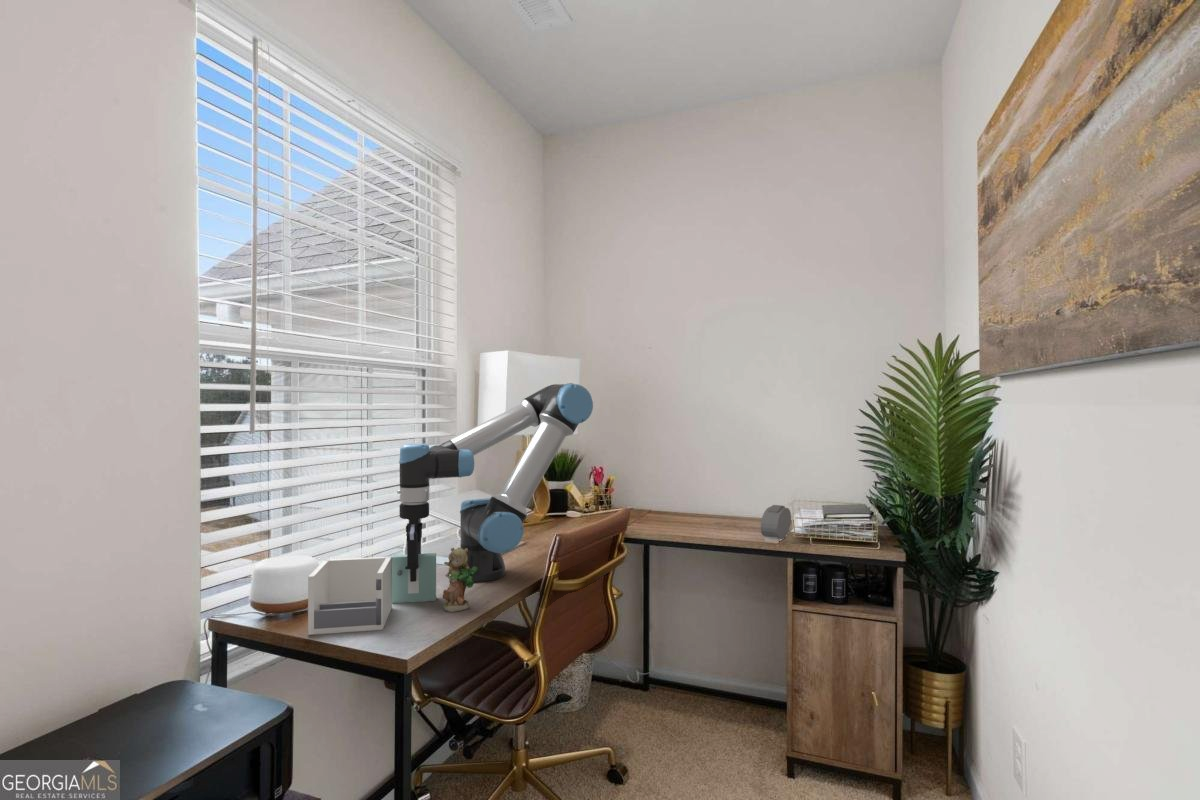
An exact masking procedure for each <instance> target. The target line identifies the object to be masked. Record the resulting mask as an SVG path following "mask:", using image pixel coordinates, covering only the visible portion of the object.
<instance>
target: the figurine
mask: <svg viewBox="0 0 1200 800" xmlns="http://www.w3.org/2000/svg"><path fill="white" fill-rule="evenodd" d="M450 551H451V552H450V553H449V555H448V557H447V558H448V561H445V562H443V564H444V565H446V566H448V572H447V573H446V574H445V577H446V578H447V579H448V582H449V585H448V587H447V589H443V592H442V599H443V600H444V601H447V602H446V603H444V605H443V606H442V609H443V610H444V611H445V612H451V613H454V612H461V611H465V610H467V609H469V607H470V605H471V604H470V603H469V601H468V600H467V599H465V592H466V589H467V588H469V589H471V588H473V587H474V584H475V582H473V578H472V576H473V575H474V574H475V573H477V570H478V568H477V567H472V568H471V569H469V567H468V564H467V560H468V556H467V551H468V549H466V548H465V550H463V549H462V548H461V547H457V548H454V547H452V548H450ZM468 569H469V570H468Z"/></svg>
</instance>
